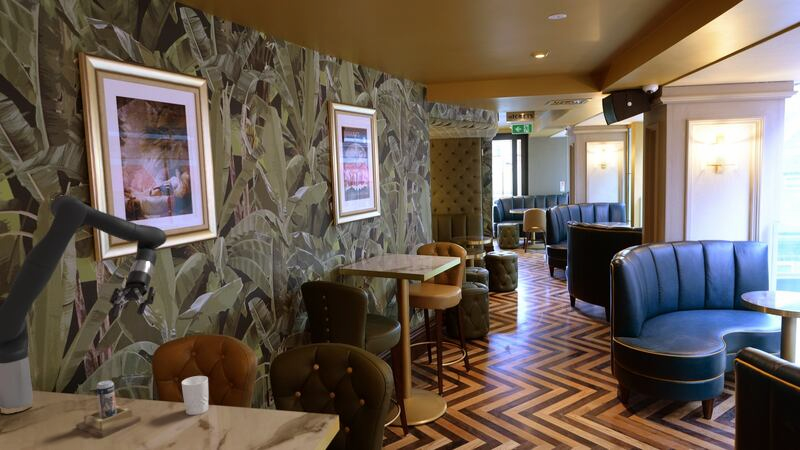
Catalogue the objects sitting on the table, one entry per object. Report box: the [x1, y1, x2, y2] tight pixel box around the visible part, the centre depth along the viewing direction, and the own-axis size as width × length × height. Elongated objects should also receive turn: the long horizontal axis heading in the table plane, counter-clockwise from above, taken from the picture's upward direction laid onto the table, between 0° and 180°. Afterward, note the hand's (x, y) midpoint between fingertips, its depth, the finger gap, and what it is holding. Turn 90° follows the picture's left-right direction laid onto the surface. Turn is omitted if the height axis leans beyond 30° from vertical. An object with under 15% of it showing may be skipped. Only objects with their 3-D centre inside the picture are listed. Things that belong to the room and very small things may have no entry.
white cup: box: [181, 375, 209, 416], centre depth 175 cm, size 8×8×10 cm
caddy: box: [75, 404, 142, 438], centre depth 168 cm, size 14×12×4 cm
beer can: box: [96, 379, 117, 420], centre depth 168 cm, size 5×5×12 cm
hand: (126, 314), depth 188 cm, fingers open, 8 cm apart
